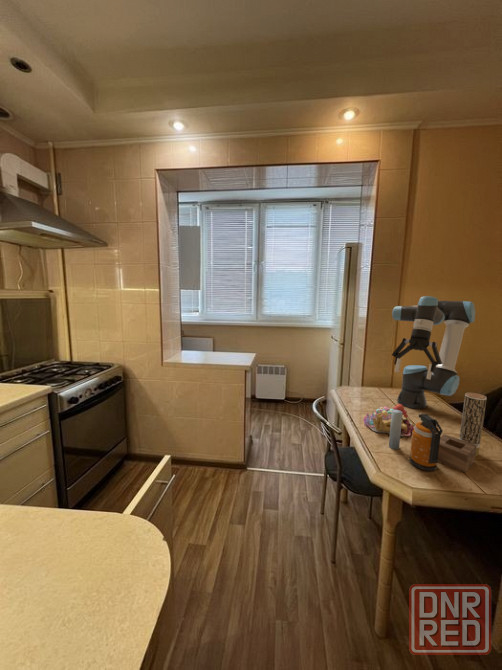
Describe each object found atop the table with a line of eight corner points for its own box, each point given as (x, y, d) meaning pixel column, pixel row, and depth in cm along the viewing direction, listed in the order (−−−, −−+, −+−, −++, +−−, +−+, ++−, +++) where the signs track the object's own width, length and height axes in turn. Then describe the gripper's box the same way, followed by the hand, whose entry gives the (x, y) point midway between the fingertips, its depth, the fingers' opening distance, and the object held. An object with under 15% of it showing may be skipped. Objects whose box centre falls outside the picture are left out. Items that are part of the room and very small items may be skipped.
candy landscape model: (423, 440, 126) (425, 421, 125) (368, 435, 131) (369, 416, 129) (405, 416, 150) (406, 400, 149) (359, 412, 155) (360, 396, 154)
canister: (426, 457, 113) (431, 410, 110) (446, 475, 102) (452, 424, 99) (404, 458, 112) (409, 411, 109) (422, 476, 102) (428, 424, 98)
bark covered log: (458, 446, 121) (465, 391, 117) (478, 452, 117) (486, 395, 113) (457, 453, 116) (464, 395, 112) (478, 459, 112) (486, 400, 108)
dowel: (391, 443, 123) (394, 408, 121) (400, 447, 120) (404, 412, 118) (387, 446, 121) (390, 411, 118) (396, 450, 118) (399, 414, 115)
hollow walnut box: (442, 449, 119) (444, 433, 118) (474, 461, 110) (476, 445, 109) (432, 458, 112) (434, 442, 111) (465, 472, 104) (467, 455, 103)
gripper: (390, 325, 135) (381, 368, 134) (451, 331, 116) (440, 381, 115) (397, 329, 140) (387, 370, 139) (456, 335, 120) (446, 383, 119)
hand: (411, 375), depth 127 cm, fingers open, 13 cm apart
